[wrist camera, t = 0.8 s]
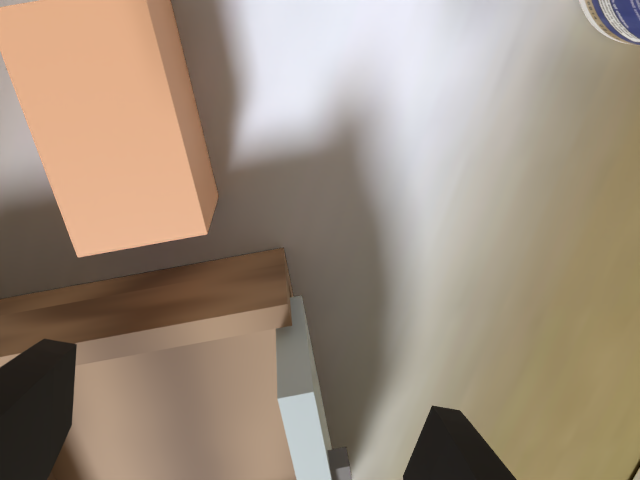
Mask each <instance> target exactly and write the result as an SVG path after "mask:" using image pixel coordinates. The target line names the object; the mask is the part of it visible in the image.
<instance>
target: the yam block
mask: <svg viewBox="0 0 640 480" xmlns="http://www.w3.org/2000/svg"><path fill="white" fill-rule="evenodd" d="M0 51H1V54H2V57H3V59H4V62H5V65H6V67H7V70H8V73H9V75H10V78H11V81H12V84H13V86H14V89H15V92H16V94H17V97H18V100H19V102H20V105H21V108H22V110H23V113H24V116H25V118H26V121H27V124H28V126H29V129H30V132H31V134H32V137H33V140H34V142H35V145H36V148H37V150H38V153H39V156H40V158H41V161H42V164H43V166H44V169H45V172H46V174H47V177H48V180H49V182H50V185H51V188H52V191H53V193H54V196H55V199H56V201H57V204H58V207H59V209H60V212H61V215H62V217H63V220H64V223H65V225H66V228H67V231H68V233H69V236H70V239H71V241H72V244H73V247H74V249H75V252H76V255H77V257H84V256H90V255H95V254H101V253H106V252H112V251H117V250H123V249H129V248H134V247H140V246H145V245H151V244H156V243H162V242H168V241H173V240H179V239H184V238H190V237H195V236H201V235H207V234H208V231H209V227H210V224H211V221H212V217H213V214H214V211H215V207H216V204H217V200H218V197H219V195H218V191H217V187H216V183H215V179H214V175H213V171H212V167H211V163H210V159H209V155H208V151H207V147H206V142H205V138H204V134H203V130H202V126H201V122H200V118H199V114H198V110H197V106H196V102H195V98H194V94H193V89H192V85H191V81H190V77H189V73H188V69H187V65H186V61H185V57H184V53H183V49H182V45H181V41H180V36H179V32H178V28H177V24H176V20H175V16H174V12H173V8H172V4H171V0H40V1H34V2H28V3H22V4H16V5H10V6H4V7H0Z"/></svg>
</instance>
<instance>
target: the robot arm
mask: <svg viewBox="0 0 640 480" xmlns="http://www.w3.org/2000/svg"><path fill="white" fill-rule="evenodd" d="M76 349H77V344H73V343H67V342H61V341H55V340H50V339H43V340H41V341H39V342H38V343H36V344H35V345H33V346H31V347H30V348H28V349H27V350H25V351H24V352H22V353H21V354H19V355H18V356H16V357H15V358H13V359H12V360H10V361H9V362H7V363H6V364H4V365H3V366H1V367H0V480H47V478H48V477H49V475H50V473H51V471H52V468H53V466H54V464H55V462H56V460H57V458H58V455H59V453H60V451H61V449H62V446H63V444H64V442H65V439H66V437H67V435H68V432H69V430H70V428H71V426H72V415H73V399H74V382H75V366H76ZM403 480H516V478H515V477H514V476H513V475H512V473H511V472H510V471H509V470H508V469H507V467H506V466H505V465H504V464H503V462H502V461H501V460H500V459H499V457H498V456H497V455H496V454H495V453H494V451H493V450H492V449H491V448H490V446H489V445H488V444H487V443H486V441H485V440H484V439H483V438H482V436H481V435H480V434H479V433H478V431H477V430H476V429H475V428H474V427H473V425H472V424H471V423H470V422H469V421H468V419H467V418H466V417H465V416H464V415H463V414H462V412H461V411H460V410H454V409H448V408H443V407H437V406H432V407H431V410H430V412H429V415H428V417H427V419H426V422H425V424H424V427H423V429H422V431H421V434H420V436H419V439H418V441H417V444H416V446H415V448H414V451H413V453H412V456H411V458H410V460H409V463H408V465H407V468H406V470H405V472H404V475H403Z"/></svg>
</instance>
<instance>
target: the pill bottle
mask: <svg viewBox="0 0 640 480" xmlns="http://www.w3.org/2000/svg"><path fill="white" fill-rule="evenodd" d="M579 3H580V6H581V8H582V10H583V12H584V14H585V16H586V17H587V19H588V20H589V22H590V23H591V24H592V25H593V26H594V27H595V28H596V29H597V30H598V31H599V32H601V33H602V34H604V35H605V36H607V37H609V38H611V39H613V40H615V41H618V42H622V43H626V44H633V45H640V0H579Z"/></svg>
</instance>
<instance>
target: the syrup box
mask: <svg viewBox="0 0 640 480" xmlns="http://www.w3.org/2000/svg"><path fill="white" fill-rule="evenodd" d="M633 480H640V468H639V470H638V471H637V473H636V475H635V477H634V479H633Z"/></svg>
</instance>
